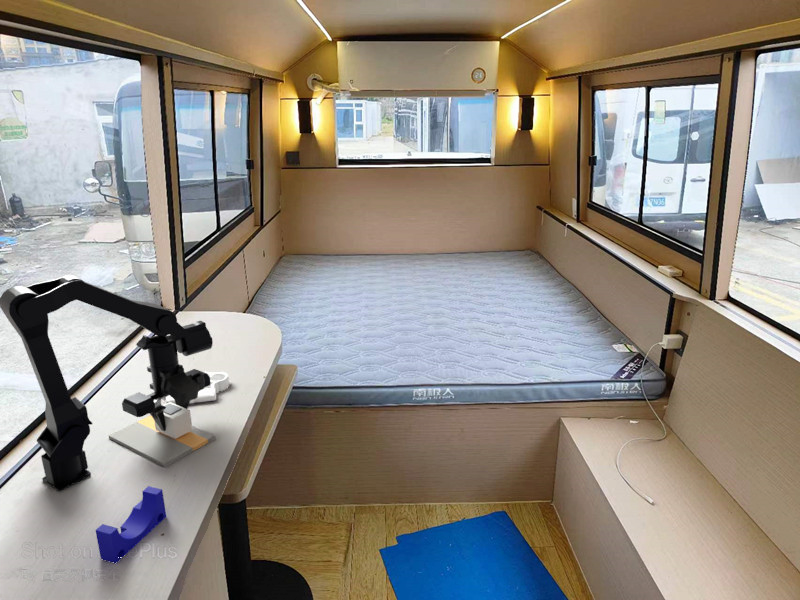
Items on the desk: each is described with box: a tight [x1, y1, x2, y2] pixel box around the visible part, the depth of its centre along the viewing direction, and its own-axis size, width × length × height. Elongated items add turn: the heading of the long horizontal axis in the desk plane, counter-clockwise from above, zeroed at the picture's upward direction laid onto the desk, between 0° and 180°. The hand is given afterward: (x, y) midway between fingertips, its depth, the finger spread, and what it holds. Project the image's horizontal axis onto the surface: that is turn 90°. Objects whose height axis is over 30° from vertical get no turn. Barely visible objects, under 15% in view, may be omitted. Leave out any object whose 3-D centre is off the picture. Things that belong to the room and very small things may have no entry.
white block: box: [154, 402, 193, 439], centre depth 129 cm, size 4×7×5 cm, turn 57°
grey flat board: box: [108, 415, 216, 468], centre depth 129 cm, size 13×20×1 cm, turn 57°
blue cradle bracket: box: [95, 485, 167, 564], centre depth 98 cm, size 12×4×6 cm, turn 162°
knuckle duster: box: [164, 371, 230, 404], centre depth 150 cm, size 3×18×15 cm
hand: (173, 425), depth 129 cm, fingers closed on white block, 4 cm apart
